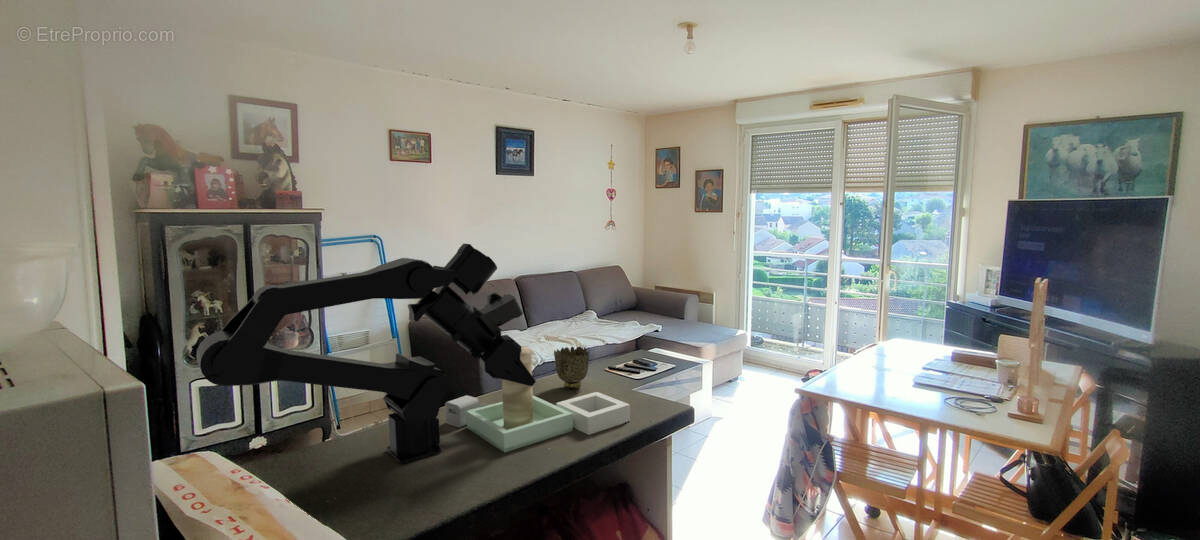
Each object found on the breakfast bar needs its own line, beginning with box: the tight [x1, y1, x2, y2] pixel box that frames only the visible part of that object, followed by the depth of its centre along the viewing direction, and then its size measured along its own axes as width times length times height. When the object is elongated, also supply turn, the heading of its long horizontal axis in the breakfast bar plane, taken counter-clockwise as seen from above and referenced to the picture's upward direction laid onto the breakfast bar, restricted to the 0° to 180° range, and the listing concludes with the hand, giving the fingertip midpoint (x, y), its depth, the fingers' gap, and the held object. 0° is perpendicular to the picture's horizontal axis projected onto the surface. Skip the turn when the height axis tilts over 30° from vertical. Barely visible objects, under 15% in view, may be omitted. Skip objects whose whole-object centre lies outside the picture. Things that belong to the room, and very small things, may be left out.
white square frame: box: [555, 391, 631, 436], centre depth 98 cm, size 9×9×3 cm
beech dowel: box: [501, 346, 534, 430], centre depth 94 cm, size 5×5×13 cm
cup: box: [553, 346, 591, 391], centre depth 116 cm, size 8×7×8 cm
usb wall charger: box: [444, 394, 488, 428], centre depth 99 cm, size 4×7×4 cm, turn 143°
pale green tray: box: [466, 395, 574, 453], centre depth 94 cm, size 13×13×3 cm
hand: (525, 376), depth 94 cm, fingers open, 9 cm apart
